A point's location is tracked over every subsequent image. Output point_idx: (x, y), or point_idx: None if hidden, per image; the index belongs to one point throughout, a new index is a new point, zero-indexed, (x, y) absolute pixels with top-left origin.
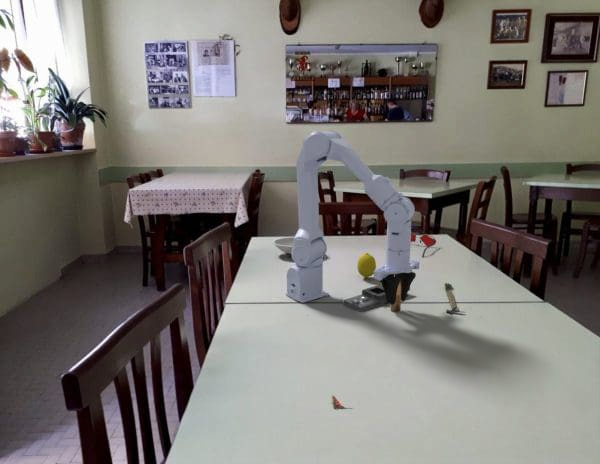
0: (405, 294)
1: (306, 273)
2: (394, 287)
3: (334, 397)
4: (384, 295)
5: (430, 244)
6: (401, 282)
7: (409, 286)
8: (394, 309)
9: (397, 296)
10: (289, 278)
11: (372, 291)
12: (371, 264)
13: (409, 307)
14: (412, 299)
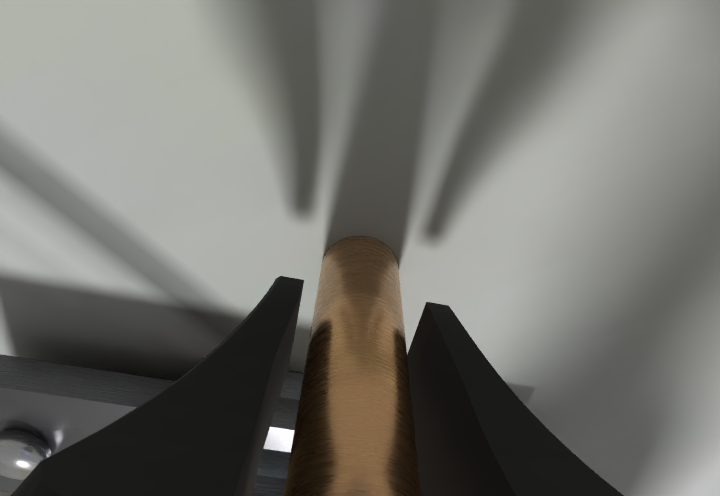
0: (286, 312)
1: None
2: (576, 465)
3: None
4: (287, 422)
5: None
6: (336, 481)
7: (212, 362)
8: (397, 274)
9: (394, 343)
10: None
11: (261, 488)
12: None
13: (223, 220)
14: (64, 273)
